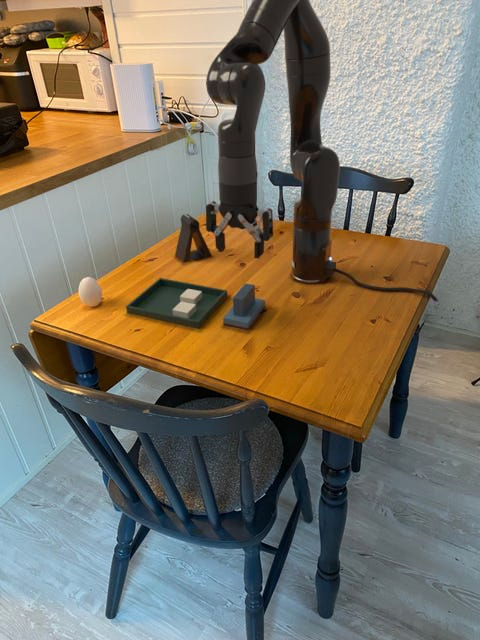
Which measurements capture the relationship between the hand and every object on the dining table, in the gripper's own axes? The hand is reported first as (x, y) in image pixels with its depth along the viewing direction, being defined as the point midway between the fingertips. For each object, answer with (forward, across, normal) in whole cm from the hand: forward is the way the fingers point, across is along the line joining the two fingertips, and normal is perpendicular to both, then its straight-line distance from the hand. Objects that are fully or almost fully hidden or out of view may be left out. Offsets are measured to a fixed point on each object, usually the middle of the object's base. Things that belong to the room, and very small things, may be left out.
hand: (239, 253), depth 100 cm
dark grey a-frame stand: (+16, -26, +24) cm, 39 cm away
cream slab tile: (+15, -12, -4) cm, 20 cm away
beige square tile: (+15, -14, +2) cm, 21 cm away
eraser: (+16, +1, 0) cm, 16 cm away
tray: (+16, -16, -2) cm, 23 cm away
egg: (+16, -36, -9) cm, 40 cm away
